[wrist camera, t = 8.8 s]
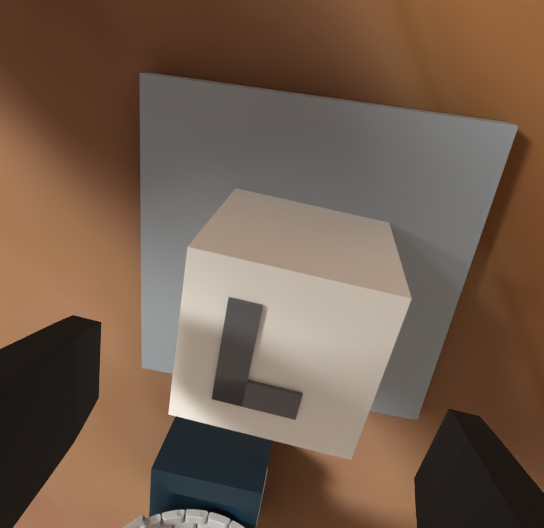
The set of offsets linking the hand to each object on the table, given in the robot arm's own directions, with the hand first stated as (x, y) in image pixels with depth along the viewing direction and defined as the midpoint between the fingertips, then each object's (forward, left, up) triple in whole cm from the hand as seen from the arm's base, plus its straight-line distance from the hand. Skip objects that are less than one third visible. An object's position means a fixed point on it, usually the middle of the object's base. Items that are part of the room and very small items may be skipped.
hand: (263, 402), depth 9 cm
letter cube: (0, 0, -7) cm, 7 cm away
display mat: (0, 0, -8) cm, 8 cm away
